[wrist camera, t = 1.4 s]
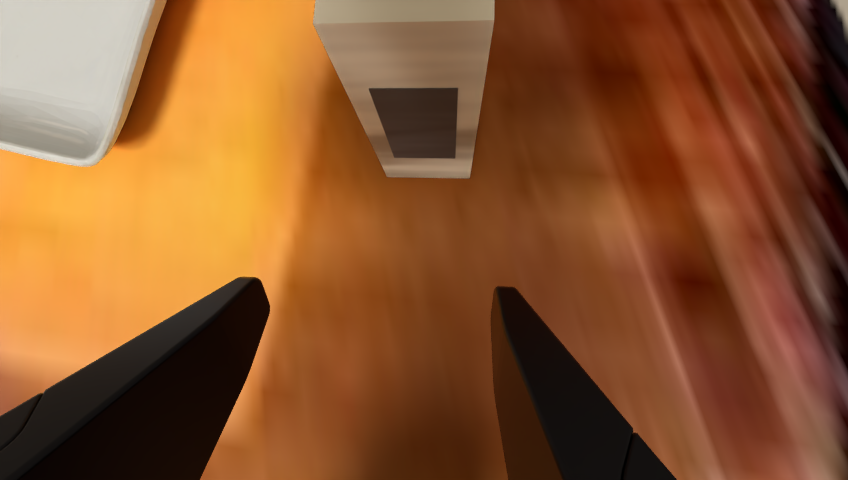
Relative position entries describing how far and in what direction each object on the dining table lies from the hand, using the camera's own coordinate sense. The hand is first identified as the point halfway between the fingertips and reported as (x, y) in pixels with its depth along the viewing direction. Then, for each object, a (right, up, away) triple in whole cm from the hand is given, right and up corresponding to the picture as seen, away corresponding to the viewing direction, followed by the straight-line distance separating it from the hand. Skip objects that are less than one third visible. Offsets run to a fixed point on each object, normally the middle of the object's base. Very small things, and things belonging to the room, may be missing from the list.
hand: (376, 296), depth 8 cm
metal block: (+1, +7, +14) cm, 16 cm away
